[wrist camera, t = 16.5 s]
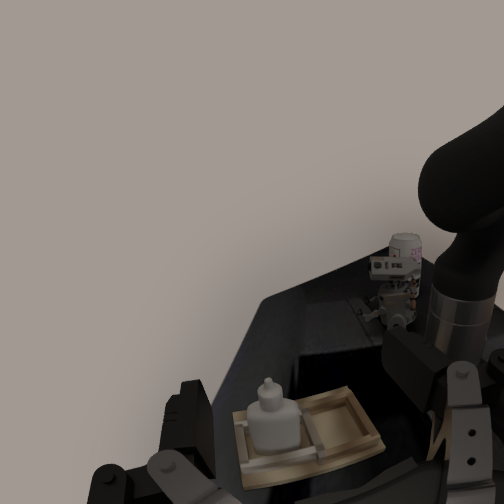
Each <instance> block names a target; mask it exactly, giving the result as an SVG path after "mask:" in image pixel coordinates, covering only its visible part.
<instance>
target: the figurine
mask: <svg viewBox="0 0 504 504" xmlns="http://www.w3.org/2000/svg"><path fill="white" fill-rule="evenodd" d="M367 267H368V270H369V274H370V278H371V280H388V283H385V284H383V285H381V287H380V289H379V292H378V296H377V297H373V298H372V299H370V300H369V299H368V298H367V297H366V298H367V300H368V302H367V304H366V303H365V304H366V305H368V303H369V302H373V303H374V304H376V303H377V302H378V301H379V307H380V309H379V310H378V311H377V310H375V311H373V313H371V314H367V315H365V314H364V313H362V311H361V309H360V310H359V311H361V313H360V314H358V312H357V315H363V316H364V317H365V318H364V319H365V321H366V322H369V321H370V320H371V319H372V318H374V317H378V316H379V314H381V323H383V324H384V325H386V326H388V327H387V330H388V329H391V328H393V327H396V326H399V325H400V326H402V327H403V328H404V329H406V325H407V324H409V323H411V322H412V321H414V319H415V318H416V316H417V314H416V307H415V305H416V302H415V295H416V294H417V288H416V280H415V278H413V276H411V275H413V274H420V272H421V266H420V265H419V264H418V262H417V261H416V260H415V259H414V258H408V257H396V255H395V254H394V255H393V257H370V261H369V264H368V266H367ZM410 276H411V277H412V279H411V281H408V278H409V277H410ZM406 279H407V280H406ZM366 298H365V299H366Z"/></svg>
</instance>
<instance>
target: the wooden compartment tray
mask: <svg viewBox="0 0 504 504" xmlns="http://www.w3.org/2000/svg"><path fill="white" fill-rule="evenodd" d="M295 402H297V404H298V406H299V415H300V435H301V447H300V449H299V450H296V451H292V452H288V453H284V454H279V455H274V456H266V455H261V454H258V453H256V452H255V450H254V447H253V443H252V439H251V435H250V431H249V427H248V423H247V410H245V411H239V412H233V418H234V426H235V434H236V442H237V449H238V456H239V463H240V470H241V477H242V484H243V488H244V490H251V489H258V488H264V487H269V486H275V485H280V484H284V483H289V482H293V481H298V480H302V479H306V478H309V477H313V476H317V475H320V474H324V473H327V472H330V471H333V470H336V469H339V468H342V467H345V466H348V465H351V464H354V463H356V462H359V461H362V460H364V459H367V458H369V457H372V456H374V455H377V454H379V453H381V452H383V451H384V450H385V445H384V444H383V442H382V441H381V439H380V437H381V436H380V435H379V433H378V432H377V430H376V429H375V427H374V425H373V424H372V422H371V421H370V419H369V418H368V416H367V415H366V413H365V411H364V410H363V408H362V407H361V405H360V404H359V402H358V401H357V399H356V397H355V396H354V394H353V393H352V391H351V390H349V389H348V387H347V386H345V387H342V388H339V389H335V390H332V391H329V392H325V393H322V394H318V395H314V396H311V397H307V398H303V399H299V400H295Z"/></svg>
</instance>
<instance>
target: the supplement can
mask: <svg viewBox="0 0 504 504" xmlns="http://www.w3.org/2000/svg"><path fill="white" fill-rule="evenodd" d="M394 254H395V255H396V257H408V258H414V259H415V260H416V261H417V262H418V264H419V265H420V266H421V254H422V242H421V240H420V236H419V235H417V234H413V233H397V234H394V235H392V238H391V240H390V242H389V257H393V255H394ZM420 273H421V272H420ZM411 276H413V278H415V280H416V288H417V294H416V295H415V298H416V297H417V296H418V295H419V285H420V274H413V275H411ZM411 276H410V277H409V278H408V281H411V279H412V277H411ZM406 280H407V279H406Z"/></svg>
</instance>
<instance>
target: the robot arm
mask: <svg viewBox="0 0 504 504" xmlns="http://www.w3.org/2000/svg"><path fill="white" fill-rule="evenodd" d="M418 197H419V201H420V205H421V208H422V210H423V211H424V213H425V215H426V217H427V218H428V219H429V220H430V221H431V222H432V223H433V224H434V225H436V226H437V227H439V228H441V229H442V230H445V231H448V232H452V233H457V235H456V237H455V240H454V241H453V243H452V244H451V246H450V247H449V248H448V249H447V250H446V251H445V252H443V254H441V255H440V256H439V257H438V258H437V260H436V261H435V264H434V268H433V278H432V287H431V296H430V304H429V311H428V318H427V324H426V330H425V335H424V337H423V336H422V335H420V334H417V333H414V332H408V331H407V330H406V329H404V328H403V327H402V326H400V325H399V326H396V327H393V328H391V329H388V330H386V331H384V333H383V344H382V364H383V367H384V369H385V370H386V372H387V373H388V374H389V375H390V376H391V377H392V378H393V380H394V381H395V382H396V383H397V384H398V385H399V387H400V388H401V389H402V390H403V391H404V392H405V393H406V395H407V396H408V397H409V398H410V399H411V400H412V402H413V403H414V404H415V405H416V406H417V407H418V409H419V410H420V411H421V412H422V413H423V414H424V413H426V412H427V411H429V410H431V409H432V410H433V411H434V414H433V421H432V432H431V441H430V449H429V453H428V456H427V459H426V461H420V462H415V461H414V460H413V458H412V457H410V458H409V459H407V460H405V461H403V462H401V463H399V464H397V465H395V466H393V467H391V468H389V469H387V470H385V471H384V472H382V473H381V474H380V475H378V476H377V477H375V478H374V479H373V480H371V481H370V482H368V483H367V484H365V485H364V486H362V487H361V488H358V489H352V490H346V491H339V492H332V493H325V494H322V495H318V496H315V497H311V498H308V499H304V500H300V501H296V502H294V503H295V504H504V471H498V470H492V430H493V432H494V433H495V434H496V435H497V436H498V437H499V439H500V440H501V441H502V442H503V443H504V396H503V393H504V349H503V348H501V349H496V350H494V351H493V352H492V353H491V355H490V358H489V361H488V362H486V363H483V364H479V362H480V359H481V356H482V353H483V350H484V347H485V344H486V340H487V337H486V335H487V331H488V327H489V324H490V320H491V316H492V311H493V307H494V302H495V297H496V292H497V287H498V283H499V279H500V277H501V275H502V273H503V271H504V106H503V107H502V108H500V109H499V110H498V111H497V112H496V113H495V114H493V115H492V116H490V117H489V118H488V119H486V120H485V121H483V122H482V123H480V124H479V125H477V126H475V127H474V128H472V129H470V130H469V131H467V132H465V133H464V134H462V135H460V136H459V137H457V138H455V139H454V140H452V141H450V142H448V143H446V144H445V145H443V146H441V147H440V148H439V149H437V150H436V151H434V152H433V153H432V154H431V155H430V157H429V158H428V159H427V161H426V162H425V164H424V166H423V168H422V171H421V174H420V178H419V183H418ZM164 414H165V415H164V419H163V422H164V423H163V425H162V431H161V438H160V445H159V451H158V452H157V453H156V454H154V455H153V456H152V457H151V458H150V459H149V461H148V463H147V465H145V466H142V467H138V468H134V469H130V470H126V471H125V470H124V469H123V468H122V467H120V466H118V465H116V464H106V465H103V466H101V467H100V468H98V469H97V470H96V471H95V472H94V475H93V477H92V481H91V486H90V491H89V496H88V501H87V504H242V503H241V502H240V501H238V500H237V499H236V498H234V497H233V496H232V495H231V494H229V493H228V492H227V491H225V490H224V489H222V488H218V487H217V486H216V485H215V484H213V483H212V482H211V481H210V480H209V479H216V471H215V452H214V427H213V413H212V408H211V405H210V402H209V400H208V397H207V395H206V393H205V390H204V387H203V385H202V383H201V381H200V379H198V380H192V381H185V382H182V383H181V389H180V394H178V395H172V396H171V398H170V399H169V400H168V402H167V403H166V407H165V413H164ZM491 429H492V430H491Z"/></svg>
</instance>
